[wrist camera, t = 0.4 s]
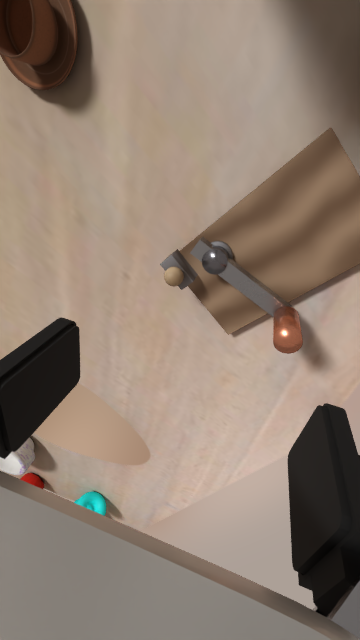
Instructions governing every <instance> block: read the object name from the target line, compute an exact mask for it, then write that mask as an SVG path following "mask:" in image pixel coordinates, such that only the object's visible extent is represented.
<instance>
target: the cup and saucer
mask: <svg viewBox="0 0 360 640" xmlns="http://www.w3.org/2000/svg"><path fill="white" fill-rule="evenodd" d="M76 50H77V24H76V17H75V13H74V9H73V5H72V2H71V0H0V55H1V57H2V59H3V61H4V62H5V64H6V66H7V67H8V68H9V70H10V71H11V72H12V74H13V75H14V76H15V77H16V78H17V79H18V80H20V81H21V82H22V83H23V84H25V85H27V86H29V87H31V88H34V89H38V90H48V89H52V88H54V87H56V86H58V85H59V84H61V83H62V82H63V81H64V80H65V79H66V77H67V76H68V74H69V73H70V71H71V69H72V66H73V63H74V60H75V56H76Z"/></svg>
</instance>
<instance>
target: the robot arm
mask: <svg viewBox="0 0 360 640" xmlns="http://www.w3.org/2000/svg"><path fill="white" fill-rule="evenodd" d="M79 379H80V343H79V327H77V326H76V323H75V322H74V321H71V320H68V319H65V318H59V319H57V320H56V321H54V322H53V323H51V324H50V325H49V326H47V327H46V328H44V329H43V330H42V331H40V332H39V333H37V334H36V335H35V336H33V337H32V338H30V339H29V340H28V341H26V342H25V343H24V344H22V345H21V346H19V347H18V348H17V349H15V350H14V351H12V352H11V353H10V354H8V355H7V356H5V357H4V358H3V359H1V360H0V457H1V458H3V459H6V458H7V456H8V455H9V454H10V453H11V452H15V451H17V450H18V449H19V448H20V447H21V446H22V445H23V444H24V443H25V442H26V441H27V439H28V438H29V437H30V436H31V435H32V434H33V433H34V431H35V430H36V429H37V428H38V427H39V426H40V425H41V424H42V423H43V422H44V420H45V419H46V418H47V417H48V416H49V415H50V414H51V413H52V411H53V410H54V409H55V408H56V407H57V406H58V405H59V403H61V401H62V400H63V399H64V398H65V397H66V396H67V395H68V393H69V392H70V391H71V390H72V389H73V388H74V387H75V386H76V385H77V383H78V381H79ZM288 476H289V477H288V478H289V500H290V522H291V542H292V563H293V568H294V570H295V571H297V572H298V577H299V585H300V586H302V587H305V588H307V589H309V590H312V591H313V600H314V603H315V605H316V607H315V608H314V609H313V610H311V609H309V608H307V607H305V606H304V605H302V604H300V603H298V602H296V601H294V600H291V599H289V598H287V597H285V596H283V595H281V594H278V593H276V592H274V591H272V590H270V589H268V588H266V587H263V586H261V585H259V584H257V583H255V582H253V581H251V580H248V579H246V578H244V577H242V576H240V575H237V574H235V573H233V572H231V571H228V570H226V569H224V568H222V567H219V566H217V565H215V564H213V563H210V562H208V561H206V560H204V559H201V558H199V557H197V556H195V555H192V554H190V553H188V552H185V551H183V550H181V549H179V548H176V547H174V546H172V545H170V544H167V543H165V542H163V541H161V540H158V539H156V538H154V537H152V536H149V535H147V534H145V533H142V532H140V531H138V530H136V529H133V528H131V527H129V526H126V525H124V524H122V523H120V522H117V521H115V520H113V519H110V518H108V517H106V516H103V515H101V514H99V513H97V512H94V511H92V510H90V509H87V508H85V507H83V506H81V505H78V504H76V503H73V502H71V501H69V500H67V499H64V498H62V497H60V496H57V495H55V494H53V493H50V492H48V491H46V490H43V489H41V488H39V487H36V486H34V485H32V484H29V483H27V482H25V481H23V480H20V479H18V478H16V477H13V476H11V475H9V474H6V473H4V472H1V471H0V640H360V455H358V453H357V449H356V446H355V442H354V439H353V435H352V432H351V428H350V425H349V421H348V418H347V414H346V411H345V410H344V409H343V408H340V407H337V406H334V405H331V404H327V403H326V404H324V405H323V406H320V405H319V406H317V408H316V409H315V411H314V412H313V414H312V416H311V417H310V419H309V421H308V422H307V424H306V425H305V427H304V429H303V430H302V432H301V434H300V435H299V437H298V438H297V440H296V442H295V443H294V445H293V447H292V448H291V450H290V452H289V455H288Z"/></svg>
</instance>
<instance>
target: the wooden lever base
mask: <svg viewBox="0 0 360 640" xmlns="http://www.w3.org/2000/svg"><path fill="white" fill-rule="evenodd" d="M201 237H204V238H205V239H206V240H208V241H209V242H210V243H211V244H213V245H214V246H221V247H223V248H225V249H226V250H227V252H228V254H229V257H230V258H231V259H232V260H233V261H235V262H236V263H237V264H239V265H240V266H241V267H242V268H244V269H245V270H246V271H248V272H249V273H250V274H251V275H253V276H254V277H255V278H257V279H258V280H259V281H260V282H262V283H263V284H264V285H266V286H267V287H268V288H269V289H271V290H272V291H273V292H275V293H276V294H277V295H278V296H280V297H281V298H282V299H284V300H285V301H286V302H287V303H288V302H290V301H292V300H293V299H295V298H297V297H299V296H301V295H303V294H305V293H306V292H308V291H310V290H312V289H314V288H316V287H317V286H319V285H321V284H323V283H325V282H327V281H329V280H330V279H332V278H334V277H336V276H338V275H340V274H341V273H343V272H345V271H347V270H349V269H351V268H353V267H354V266H356V265H358V264H360V176H359V174H358V173H357V171H356V169H355V168H354V166H353V164H352V162H351V161H350V159H349V157H348V155H347V154H346V152H345V150H344V149H343V147H342V145H341V143H340V142H339V140H338V138H337V136H336V135H335V133H334V131H333V130H332V128H329V129H328V130H327V131H325V132H324V133H323V134H322V135H321V136H319V137H318V138H317V139H316V140H315V141H313V142H312V143H311V144H310V145H308V146H307V147H306V148H305V149H304V150H302V151H301V152H300V153H299V154H297V155H296V156H295V157H294V158H293V159H291V160H290V161H289V162H288V163H286V164H285V165H284V166H283V167H282V168H280V169H279V170H278V171H277V172H275V173H274V174H273V175H272V176H271V177H269V178H268V179H267V180H266V181H265V182H263V183H262V184H261V185H260V186H258V187H257V188H256V189H255V190H254V191H252V192H251V193H250V194H249V195H247V196H246V197H245V198H244V199H243V200H241V201H240V202H239V203H238V204H236V205H235V206H234V207H233V208H232V209H230V210H229V211H228V212H227V213H225V214H224V215H223V216H222V217H221V218H219V219H218V220H217V221H216V222H214V223H213V224H212V225H211V226H210V227H208V228H207V229H206V230H205V231H204V232H202V233H201V234H200V235H199V236H197V237H196V238H195V239H194V240H193V241H191V242H190V243H189V244H188V245H186V246H185V247H184V248H183V249H182V250H180V251H179V250H178V249H177V250H176V251H175V252H173V253H172V254H171V255H170V256H169V257H167V258H166V259H165V260H164V261H163V262H162V263H161V264H160V265H161V266H162V267H163V268H164V270H165V271H166V272H165V274H164V279H165V281H166V283H167V284H169V285H170V286H179V288H180V289H181V290H182V289H184V288H185V287H187V286H188V287H189V288H190V289H191V290H192V291H193V293H194V294H195V295H196V296H197V298H198V299H199V300H200V301H201V302H202V304H203V305H204V306H205V307H206V308H207V310H208V311H209V312H210V313H211V315H212V316H213V317H214V318H215V319H216V321H217V322H218V323H219V324H220V325H221V327H222V328H223V329H224V330H225V332H226V333H227V334H228V335H229V334H231V333H233V332H234V331H236V330H238V329H240V328H242V327H244V326H245V325H247V324H249V323H251V322H253V321H255V320H257V319H258V318H260V317H262V316H264V315H266V314H268V313H267V312H266V311H265V310H263V309H262V308H261V307H260V306H258V305H257V304H256V303H254V302H253V301H252V300H250V299H249V298H248V297H246V296H245V295H244V294H243V293H241V292H240V291H239V290H237V289H236V288H235V287H233V286H232V285H231V284H229V283H228V282H227V281H226V280H224V279H223V278H222V277H220V276H219V275H218V274H216V275H214V274H210V273H208V272H206V271H205V270H204V268H203V266H202V262H201V261H199V260H198V259H197V258H196V257H194V256H193V255H192V254H190V252H191V251H192V250H193V248H194V247H195V245H196V244H197V243H198V241H199V240H200V239H201Z"/></svg>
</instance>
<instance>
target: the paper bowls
mask: <svg viewBox="0 0 360 640" xmlns="http://www.w3.org/2000/svg"><path fill="white" fill-rule="evenodd" d="M33 450H34V443H33V441H32V439H31V438H30V437H29V438H28V439H27V441H26V442H25V443H24V444H23V445H22V446H21V447H20V448H19V449H18V450H17V451H15V452H11V453H10V454H9V455H8V456H7V458H6V459H3V458H1V457H0V470H2V471H4V472H6V473H9V474H13V475H21V474H23V473H25V471H26V470H27V469H28V468H29V466H30V465H31V464H32V462H33V461H34V459H35V453H34V451H33Z"/></svg>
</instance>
